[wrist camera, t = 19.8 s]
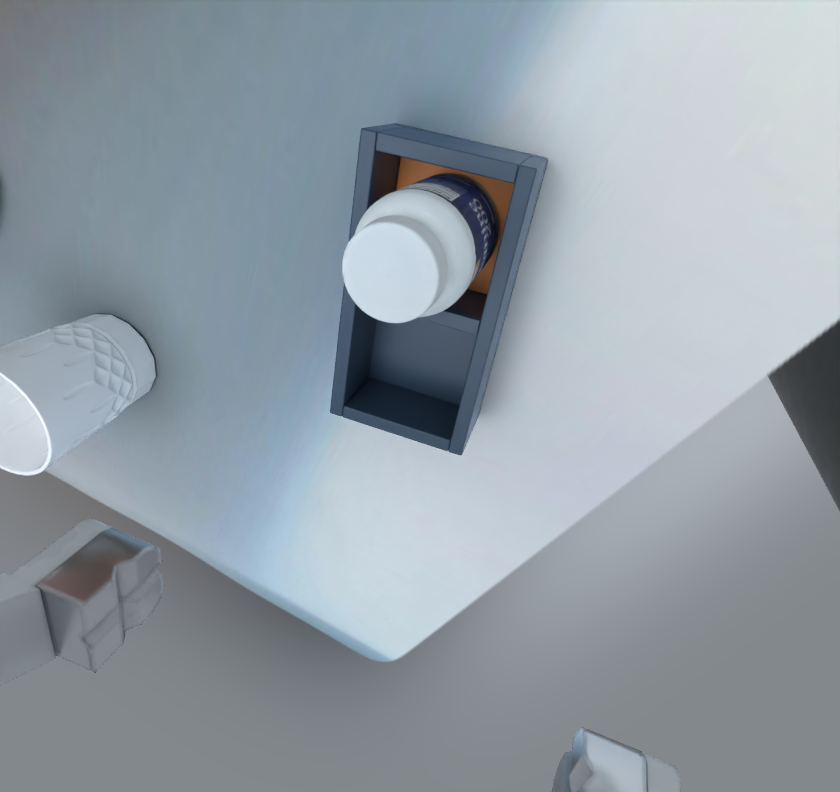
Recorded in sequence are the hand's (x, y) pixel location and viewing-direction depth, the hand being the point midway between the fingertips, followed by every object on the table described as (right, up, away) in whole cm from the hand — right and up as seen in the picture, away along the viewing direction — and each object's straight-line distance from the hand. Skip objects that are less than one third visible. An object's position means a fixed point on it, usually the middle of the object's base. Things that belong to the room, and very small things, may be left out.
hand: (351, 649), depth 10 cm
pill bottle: (+3, +14, +20) cm, 24 cm away
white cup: (-21, +8, +32) cm, 39 cm away
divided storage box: (+2, +11, +22) cm, 25 cm away
